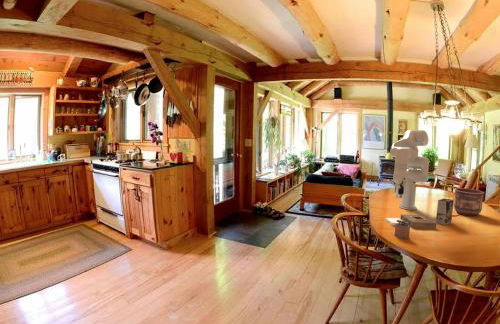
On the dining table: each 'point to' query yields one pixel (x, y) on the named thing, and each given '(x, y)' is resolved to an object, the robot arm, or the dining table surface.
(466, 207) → the pottery
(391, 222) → the white square base plate
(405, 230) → the lighter
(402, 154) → the robot arm
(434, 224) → the plate
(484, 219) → the dining table surface
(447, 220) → the coffee box
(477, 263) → the dining table surface
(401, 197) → the peg
